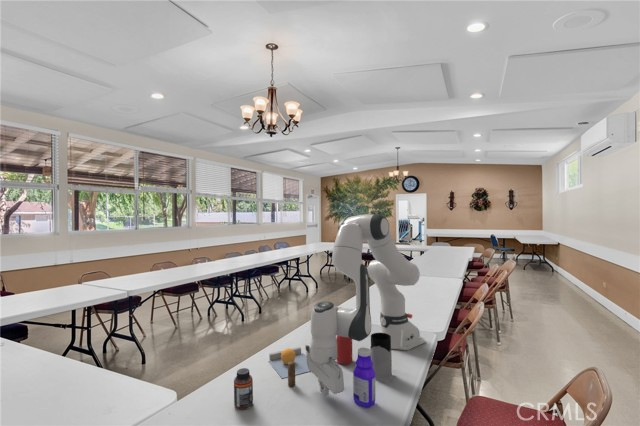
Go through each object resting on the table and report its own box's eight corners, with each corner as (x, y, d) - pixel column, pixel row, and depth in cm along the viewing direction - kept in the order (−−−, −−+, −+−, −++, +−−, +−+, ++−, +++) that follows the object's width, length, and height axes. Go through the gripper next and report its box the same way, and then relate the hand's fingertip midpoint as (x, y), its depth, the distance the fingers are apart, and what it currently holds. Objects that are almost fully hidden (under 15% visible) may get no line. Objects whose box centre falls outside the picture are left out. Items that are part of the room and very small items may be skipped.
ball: (295, 345, 138) (299, 359, 135) (289, 349, 141) (293, 364, 138) (283, 347, 134) (286, 363, 131) (277, 352, 138) (280, 367, 135)
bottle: (378, 403, 107) (378, 350, 107) (369, 411, 103) (368, 355, 103) (360, 395, 112) (359, 344, 112) (350, 402, 108) (349, 349, 108)
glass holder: (367, 379, 123) (366, 338, 123) (375, 362, 136) (374, 326, 136) (390, 383, 120) (390, 342, 120) (396, 366, 133) (396, 328, 133)
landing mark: (303, 353, 145) (303, 353, 145) (320, 368, 131) (320, 368, 131) (268, 361, 138) (268, 361, 138) (282, 378, 124) (282, 378, 124)
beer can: (351, 365, 134) (351, 336, 134) (335, 364, 135) (335, 335, 135) (353, 358, 140) (352, 330, 140) (337, 357, 142) (337, 329, 141)
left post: (293, 382, 121) (293, 360, 121) (296, 385, 119) (296, 363, 119) (287, 384, 120) (286, 362, 120) (289, 387, 118) (289, 365, 117)
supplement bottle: (235, 400, 110) (235, 366, 110) (254, 399, 110) (253, 365, 110) (232, 411, 104) (232, 375, 104) (251, 410, 105) (251, 374, 104)
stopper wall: (299, 352, 147) (299, 347, 147) (301, 353, 145) (301, 348, 145) (269, 359, 140) (269, 353, 140) (270, 360, 139) (270, 354, 139)
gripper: (348, 362, 103) (349, 407, 103) (318, 340, 121) (319, 377, 121) (330, 367, 100) (331, 412, 100) (303, 343, 118) (303, 382, 118)
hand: (324, 393), depth 111 cm, fingers closed
